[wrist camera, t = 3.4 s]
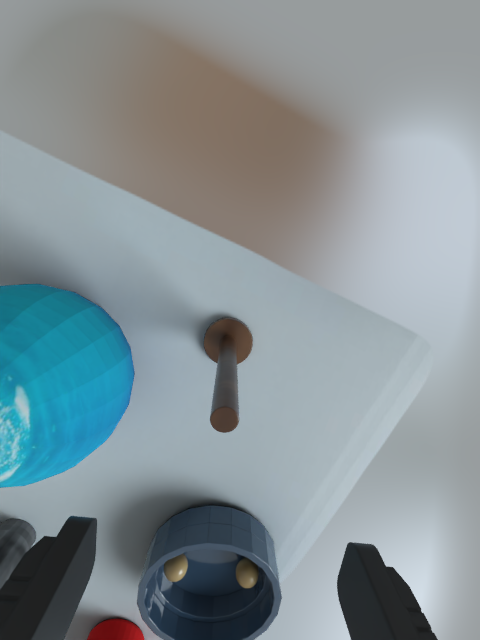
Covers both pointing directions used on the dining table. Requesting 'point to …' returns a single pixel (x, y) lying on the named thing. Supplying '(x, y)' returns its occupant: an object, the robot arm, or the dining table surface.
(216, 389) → the stirrer
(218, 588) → the bowl
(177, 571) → the bead
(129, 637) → the soda can
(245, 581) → the bead
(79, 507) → the dining table surface
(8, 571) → the beverage cup
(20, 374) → the decorative orb
